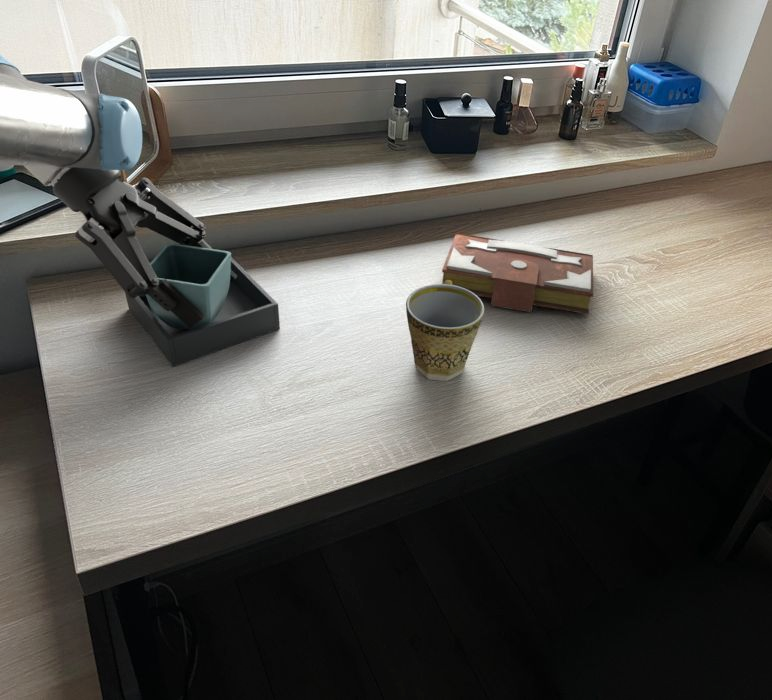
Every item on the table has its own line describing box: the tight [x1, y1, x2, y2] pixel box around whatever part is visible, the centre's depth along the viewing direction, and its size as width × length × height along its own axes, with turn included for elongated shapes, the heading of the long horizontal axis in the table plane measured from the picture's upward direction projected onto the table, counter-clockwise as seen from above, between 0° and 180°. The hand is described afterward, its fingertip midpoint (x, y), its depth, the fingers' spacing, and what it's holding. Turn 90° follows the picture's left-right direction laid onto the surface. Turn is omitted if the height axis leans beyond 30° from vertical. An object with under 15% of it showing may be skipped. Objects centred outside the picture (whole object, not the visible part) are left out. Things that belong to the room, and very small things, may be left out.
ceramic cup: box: [405, 280, 485, 382], centre depth 96 cm, size 13×10×10 cm
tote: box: [124, 256, 281, 368], centre depth 100 cm, size 15×15×4 cm
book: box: [441, 232, 594, 315], centre depth 114 cm, size 23×16×5 cm
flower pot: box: [146, 242, 232, 330], centre depth 95 cm, size 9×9×9 cm
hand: (214, 301), depth 95 cm, fingers closed on flower pot, 9 cm apart
